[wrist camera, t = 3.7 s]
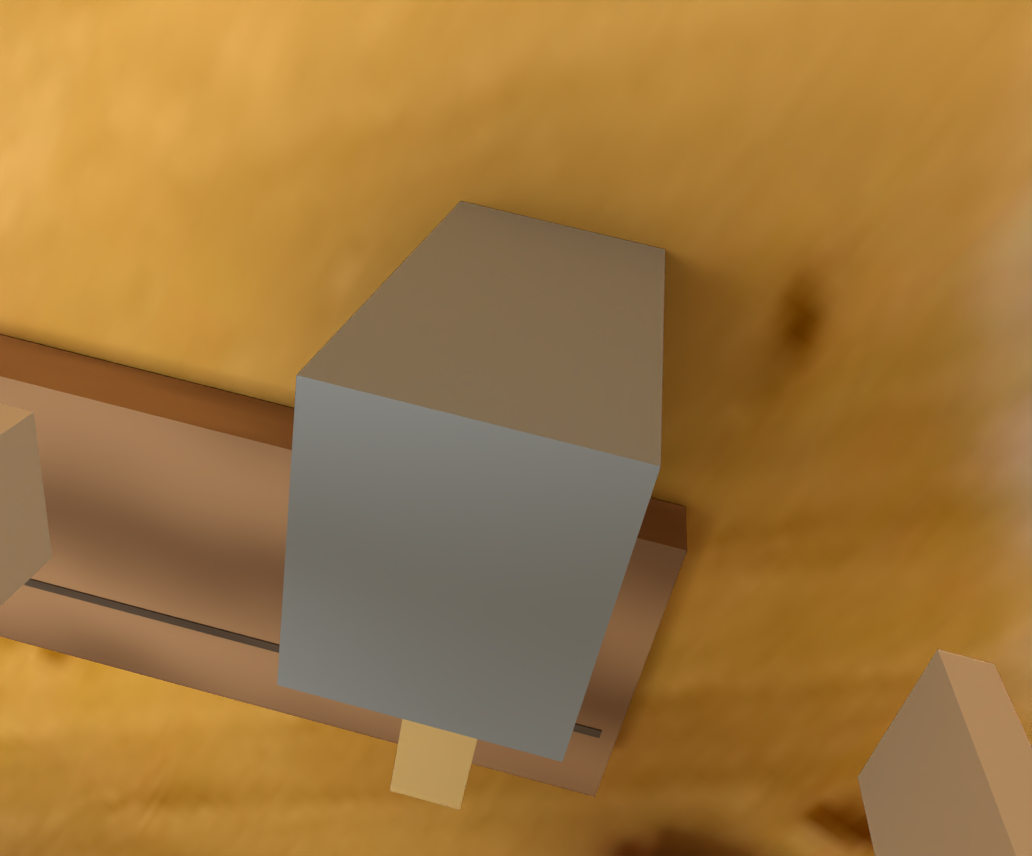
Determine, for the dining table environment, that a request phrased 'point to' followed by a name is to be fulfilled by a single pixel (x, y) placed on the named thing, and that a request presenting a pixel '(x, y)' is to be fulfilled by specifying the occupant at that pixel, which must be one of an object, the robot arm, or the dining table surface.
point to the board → (236, 551)
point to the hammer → (474, 488)
